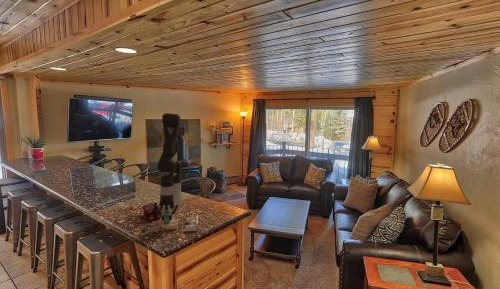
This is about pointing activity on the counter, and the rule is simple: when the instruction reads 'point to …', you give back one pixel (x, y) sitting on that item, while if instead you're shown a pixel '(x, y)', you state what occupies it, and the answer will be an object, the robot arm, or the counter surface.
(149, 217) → the toy fire truck
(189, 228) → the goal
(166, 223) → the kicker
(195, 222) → the ball
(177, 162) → the robot arm
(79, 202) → the counter surface
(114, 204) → the counter surface
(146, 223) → the track
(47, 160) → the counter surface
